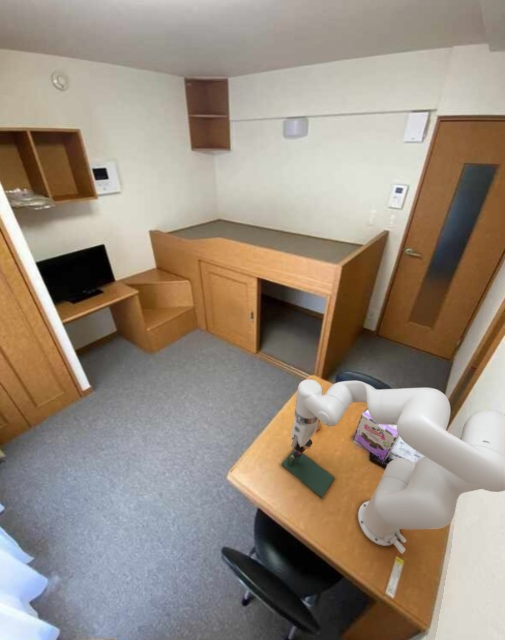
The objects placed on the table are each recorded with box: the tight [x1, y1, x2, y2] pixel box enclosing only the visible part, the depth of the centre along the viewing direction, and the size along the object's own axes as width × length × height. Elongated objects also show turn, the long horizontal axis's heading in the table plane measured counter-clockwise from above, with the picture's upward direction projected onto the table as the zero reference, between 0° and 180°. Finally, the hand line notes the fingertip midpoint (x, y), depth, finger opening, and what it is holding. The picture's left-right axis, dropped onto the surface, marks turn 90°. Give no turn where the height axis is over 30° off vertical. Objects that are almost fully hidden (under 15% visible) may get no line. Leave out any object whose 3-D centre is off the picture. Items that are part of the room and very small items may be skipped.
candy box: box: [352, 407, 400, 463], centre depth 110 cm, size 14×6×16 cm, turn 42°
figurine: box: [317, 420, 323, 430], centre depth 118 cm, size 8×6×12 cm
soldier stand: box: [281, 448, 335, 499], centre depth 104 cm, size 18×9×6 cm, turn 48°
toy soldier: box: [291, 438, 313, 459], centre depth 102 cm, size 14×4×3 cm
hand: (301, 445), depth 101 cm, fingers closed on toy soldier, 3 cm apart
